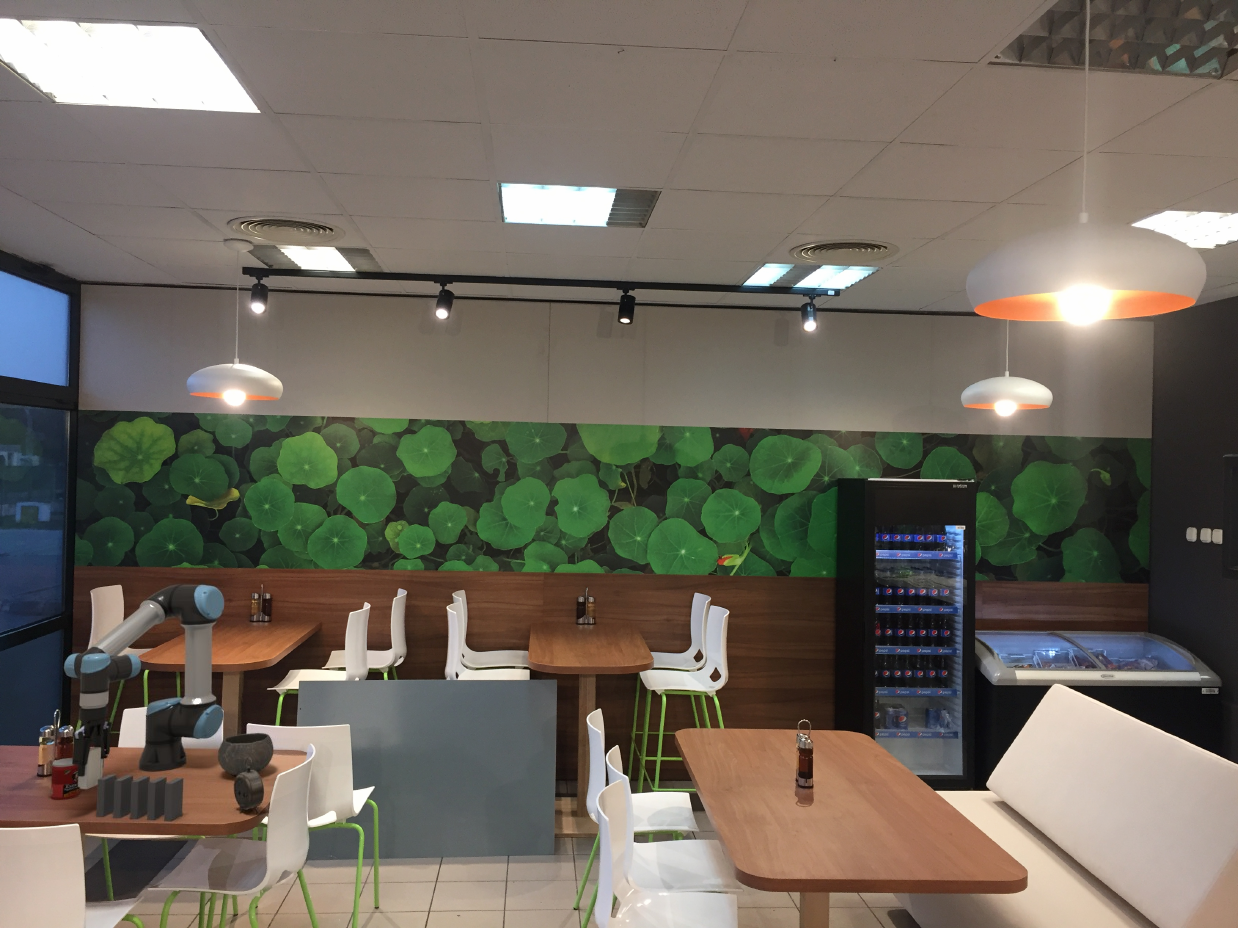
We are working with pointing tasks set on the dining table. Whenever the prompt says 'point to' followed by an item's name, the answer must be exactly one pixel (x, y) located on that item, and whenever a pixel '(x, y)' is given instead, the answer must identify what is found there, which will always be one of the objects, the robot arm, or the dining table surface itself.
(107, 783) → the tile
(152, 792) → the tile
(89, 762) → the tile
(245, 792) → the alarm clock
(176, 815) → the tile
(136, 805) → the tile
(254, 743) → the bowl
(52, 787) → the canned food
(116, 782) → the tile
